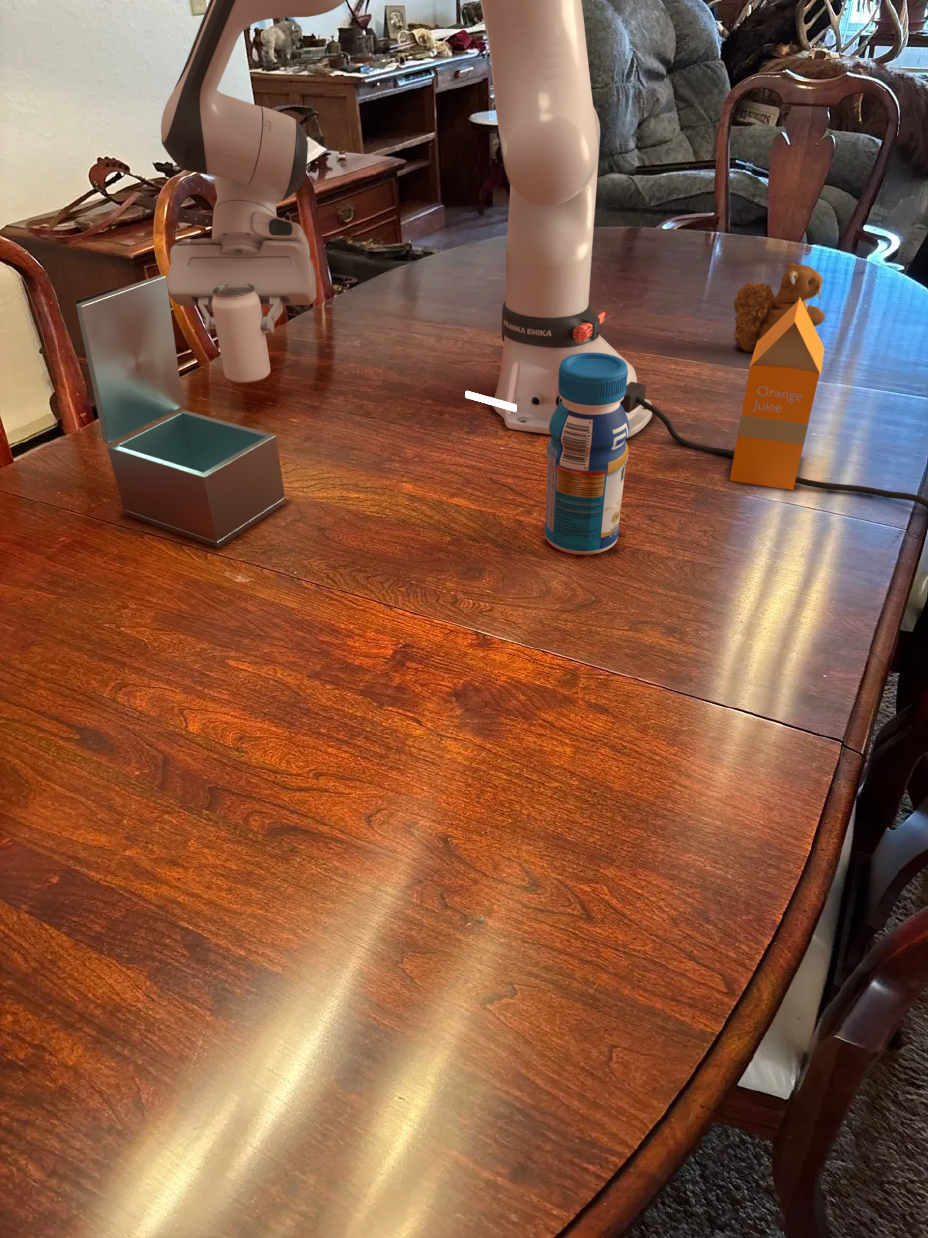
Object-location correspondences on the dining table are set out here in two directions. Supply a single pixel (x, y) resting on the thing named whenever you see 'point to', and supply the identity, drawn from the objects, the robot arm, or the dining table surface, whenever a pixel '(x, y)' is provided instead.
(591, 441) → the beverage bottle
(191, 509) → the open metal box
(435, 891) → the dining table surface
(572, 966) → the dining table surface
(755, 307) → the stuffed squirrel
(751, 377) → the orange juice
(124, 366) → the lid
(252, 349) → the can
